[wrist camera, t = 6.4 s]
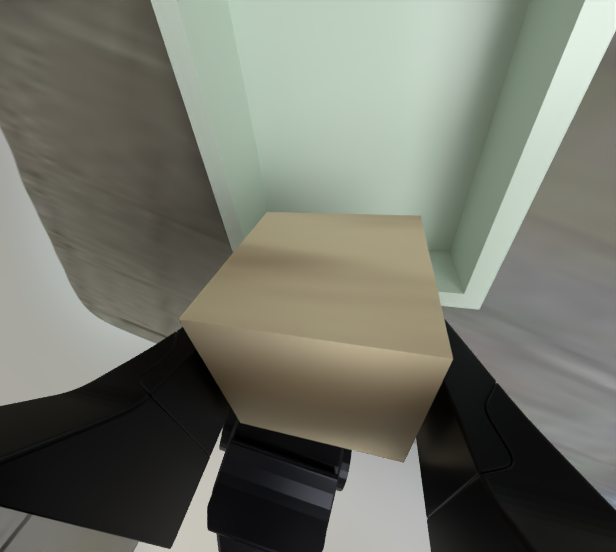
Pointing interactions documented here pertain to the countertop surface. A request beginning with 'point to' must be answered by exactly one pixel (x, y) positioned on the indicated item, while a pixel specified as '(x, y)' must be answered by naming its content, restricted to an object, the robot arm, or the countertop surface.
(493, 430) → the robot arm
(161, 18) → the tote
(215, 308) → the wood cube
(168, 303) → the countertop surface
